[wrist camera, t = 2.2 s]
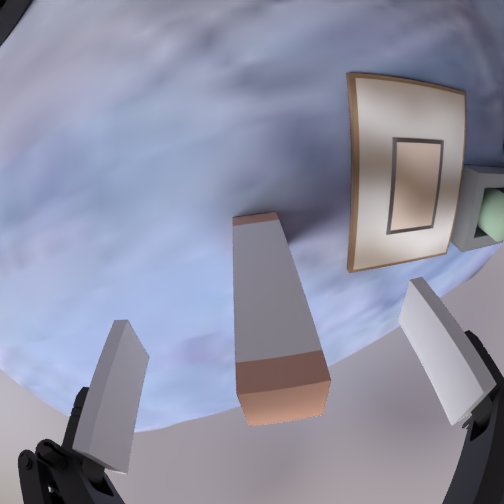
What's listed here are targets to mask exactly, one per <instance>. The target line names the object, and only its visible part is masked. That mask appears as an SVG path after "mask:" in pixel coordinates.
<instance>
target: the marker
mask: <svg viewBox="0 0 504 504" xmlns="http://www.w3.org/2000/svg"><path fill="white" fill-rule="evenodd" d="M233 287H234V331H235V364H236V391H237V397H238V399H239V402H240V404H241V407H242V409H243V412H244V414H245V417H246V419H247V421H248V424H249V426H254V425H264V424H272V423H279V422H286V421H292V420H298V419H304V418H310V417H315V416H320V415H323V413H324V409H325V405H326V401H327V396H328V392H329V387H330V383H331V378H330V374H329V371H328V368H327V364H326V361H325V357H324V354H323V351H322V348H321V344H320V341H319V338H318V334H317V331H316V328H315V325H314V322H313V318H312V315H311V312H310V309H309V306H308V303H307V300H306V297H305V294H304V291H303V288H302V284H301V281H300V278H299V275H298V272H297V270H296V267H295V264H294V261H293V258H292V255H291V252H290V249H289V246H288V243H287V240H286V238H285V235H284V232H283V229H282V226H281V223H280V221H279V218H278V215H277V212H270V213H262V214H255V215H248V216H241V217H234V218H233Z"/></svg>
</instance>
